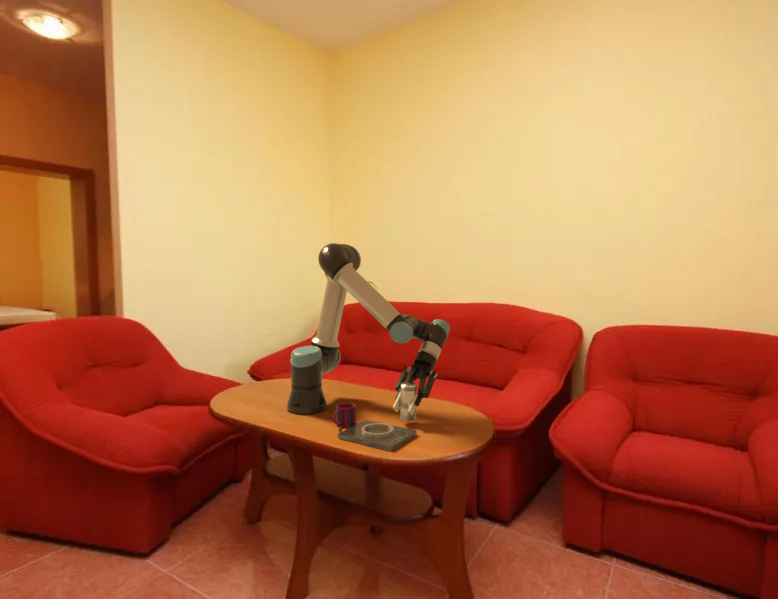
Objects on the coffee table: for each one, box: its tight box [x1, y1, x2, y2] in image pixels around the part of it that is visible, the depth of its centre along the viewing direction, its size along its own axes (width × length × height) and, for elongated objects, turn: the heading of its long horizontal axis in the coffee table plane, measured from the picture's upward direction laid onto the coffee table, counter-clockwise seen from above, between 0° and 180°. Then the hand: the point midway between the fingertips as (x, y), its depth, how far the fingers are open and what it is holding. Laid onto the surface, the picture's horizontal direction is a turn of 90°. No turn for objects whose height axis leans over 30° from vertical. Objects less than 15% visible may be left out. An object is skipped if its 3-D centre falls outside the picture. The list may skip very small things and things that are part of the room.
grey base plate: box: [337, 419, 418, 452], centre depth 152 cm, size 20×16×3 cm
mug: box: [332, 402, 357, 429], centre depth 162 cm, size 7×10×7 cm
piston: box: [399, 382, 418, 422], centre depth 164 cm, size 6×6×12 cm
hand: (402, 411), depth 161 cm, fingers closed on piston, 5 cm apart
